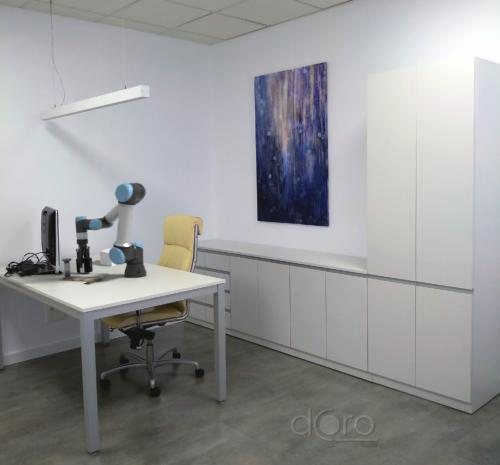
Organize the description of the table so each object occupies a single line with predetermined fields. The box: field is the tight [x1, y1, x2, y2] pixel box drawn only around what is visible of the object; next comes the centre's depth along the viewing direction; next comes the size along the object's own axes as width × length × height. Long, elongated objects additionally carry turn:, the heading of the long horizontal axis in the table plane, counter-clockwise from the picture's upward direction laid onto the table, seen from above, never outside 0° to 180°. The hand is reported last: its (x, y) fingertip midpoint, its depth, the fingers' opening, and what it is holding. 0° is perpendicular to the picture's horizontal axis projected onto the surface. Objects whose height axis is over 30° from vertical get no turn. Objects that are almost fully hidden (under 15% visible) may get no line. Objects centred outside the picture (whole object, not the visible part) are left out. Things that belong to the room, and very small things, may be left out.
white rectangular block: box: [99, 248, 117, 267], centre depth 423 cm, size 14×29×10 cm, turn 21°
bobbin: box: [61, 257, 73, 279], centre depth 358 cm, size 6×6×13 cm
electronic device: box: [75, 257, 94, 274], centre depth 374 cm, size 4×10×10 cm, turn 78°
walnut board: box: [56, 275, 104, 285], centre depth 357 cm, size 27×15×2 cm, turn 74°
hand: (84, 271), depth 375 cm, fingers closed on electronic device, 4 cm apart
